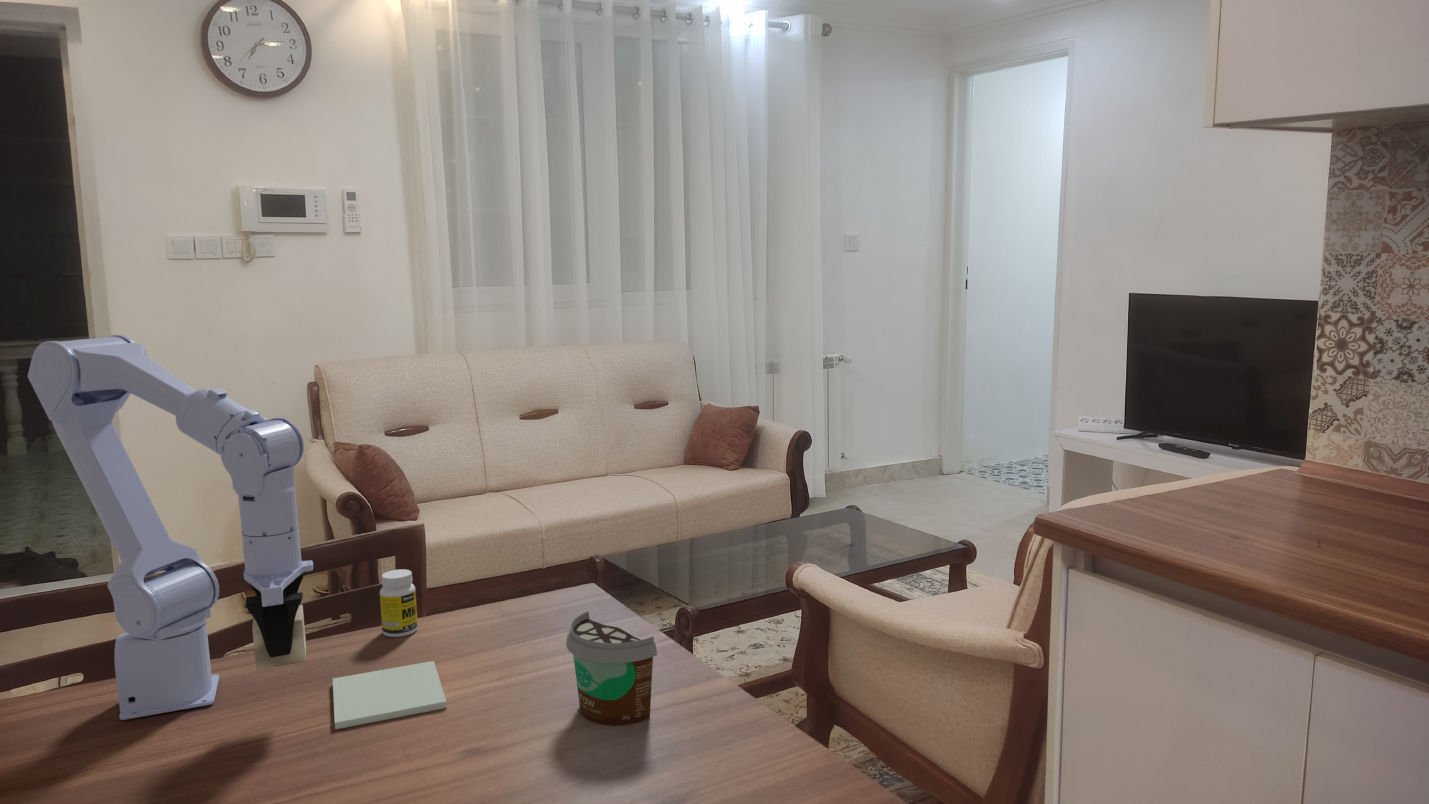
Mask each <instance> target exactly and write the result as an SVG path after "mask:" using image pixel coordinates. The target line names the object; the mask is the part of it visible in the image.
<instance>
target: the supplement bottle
mask: <svg viewBox="0 0 1429 804" xmlns="http://www.w3.org/2000/svg"><path fill="white" fill-rule="evenodd" d="M413 580H414V579H413V573H412V571H411V570H410V569H406V568H405V569H402V568H401V569H400V568H399V569H393V570H389V571H386V572H384V573H383V574H382V575H381V586H382V587H381V588H380V590H379V602H380V614H381V630H382V631H381V632H382V634H383V636H385V637H388V638H389V637H390V638H401V637H407V636H410V635H411V634H414V633H415V632H416V631H417V629H418V626H419V625H418V612H417V595H416V592H417V591H416V586H415V584H413Z"/></svg>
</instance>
